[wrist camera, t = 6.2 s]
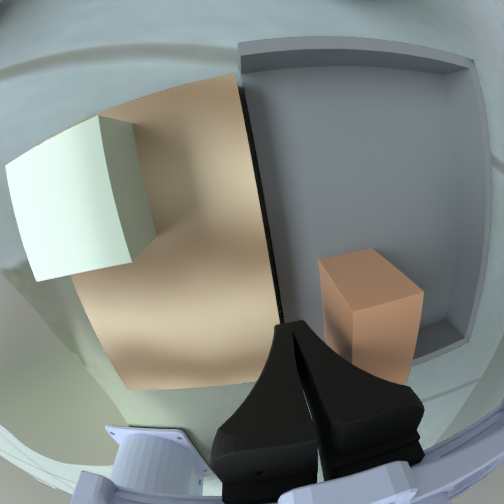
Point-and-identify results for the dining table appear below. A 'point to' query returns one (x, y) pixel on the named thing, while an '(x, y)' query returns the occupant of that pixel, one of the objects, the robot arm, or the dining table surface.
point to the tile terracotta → (370, 313)
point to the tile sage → (81, 200)
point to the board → (189, 249)
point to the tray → (373, 170)
